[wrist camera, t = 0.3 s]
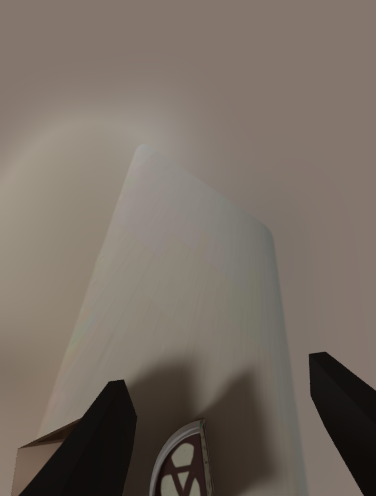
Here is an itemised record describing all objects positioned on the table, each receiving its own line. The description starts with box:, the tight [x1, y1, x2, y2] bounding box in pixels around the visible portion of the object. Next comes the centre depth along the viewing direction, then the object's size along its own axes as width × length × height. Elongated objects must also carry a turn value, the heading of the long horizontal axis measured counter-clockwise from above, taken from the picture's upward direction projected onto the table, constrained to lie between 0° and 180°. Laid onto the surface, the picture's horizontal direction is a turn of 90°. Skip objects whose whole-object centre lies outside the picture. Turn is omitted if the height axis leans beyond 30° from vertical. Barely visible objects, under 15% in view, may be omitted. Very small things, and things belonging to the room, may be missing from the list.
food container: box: [149, 419, 215, 496], centre depth 25 cm, size 12×6×10 cm, turn 8°
